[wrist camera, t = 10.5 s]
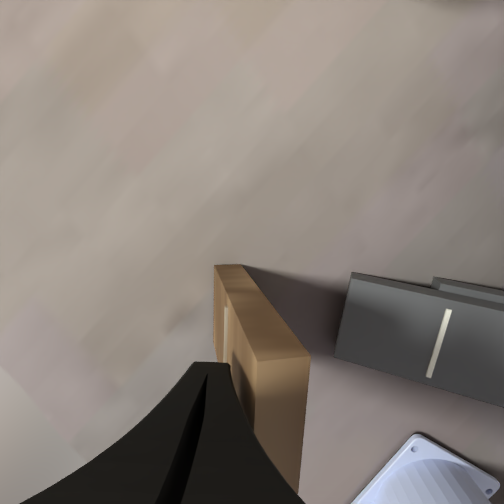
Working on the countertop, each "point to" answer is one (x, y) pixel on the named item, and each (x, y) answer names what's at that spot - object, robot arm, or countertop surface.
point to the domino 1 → (424, 336)
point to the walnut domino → (262, 367)
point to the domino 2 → (468, 290)
